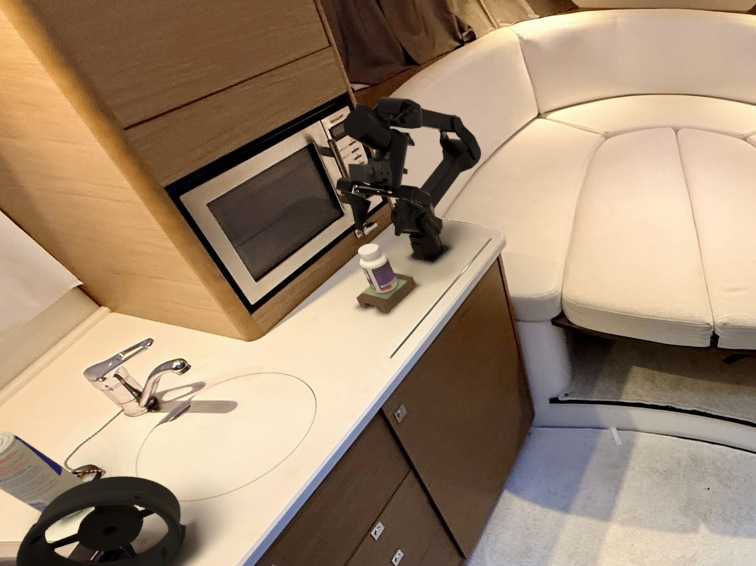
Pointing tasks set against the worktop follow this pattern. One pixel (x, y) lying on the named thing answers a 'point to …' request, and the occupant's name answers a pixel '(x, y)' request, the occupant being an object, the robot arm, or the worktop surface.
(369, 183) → the robot arm
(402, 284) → the box with green label
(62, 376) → the worktop surface
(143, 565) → the black wheel
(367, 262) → the pill bottle
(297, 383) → the worktop surface
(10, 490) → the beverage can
